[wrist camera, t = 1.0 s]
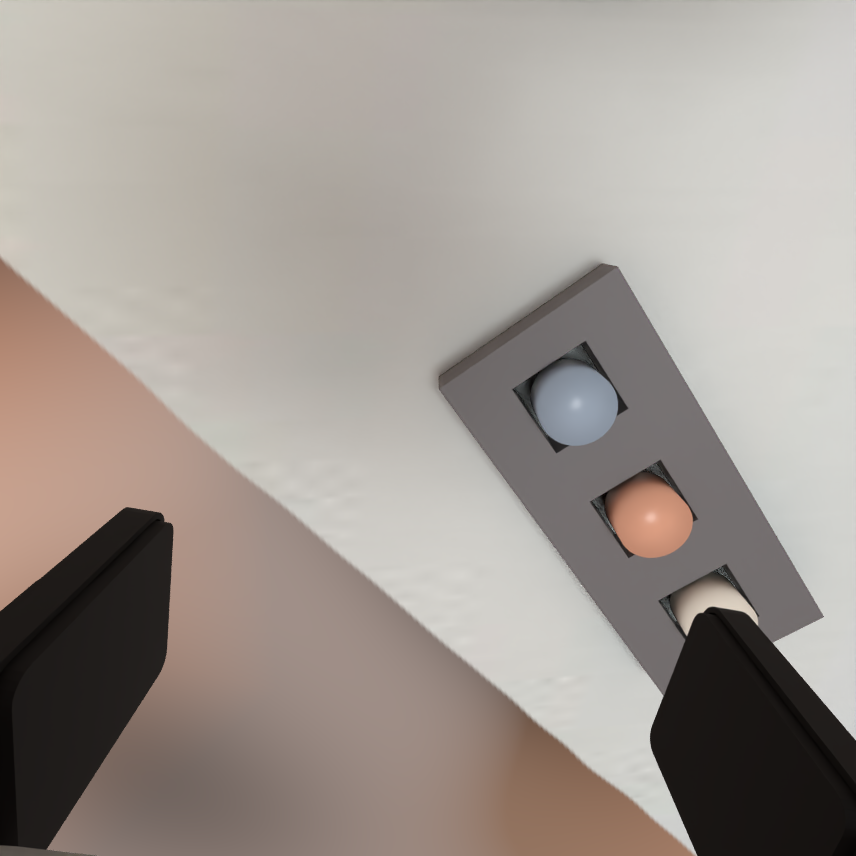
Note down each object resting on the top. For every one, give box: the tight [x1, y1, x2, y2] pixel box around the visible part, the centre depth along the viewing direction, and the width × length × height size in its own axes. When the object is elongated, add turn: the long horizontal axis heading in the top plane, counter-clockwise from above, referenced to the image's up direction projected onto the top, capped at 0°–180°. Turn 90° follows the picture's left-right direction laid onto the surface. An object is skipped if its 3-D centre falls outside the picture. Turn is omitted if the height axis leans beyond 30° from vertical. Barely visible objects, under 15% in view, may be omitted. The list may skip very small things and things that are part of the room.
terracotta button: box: [605, 472, 693, 558], centre depth 36 cm, size 4×4×3 cm
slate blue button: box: [531, 359, 618, 446], centre depth 33 cm, size 4×4×3 cm
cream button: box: [670, 572, 758, 636], centre depth 38 cm, size 4×4×3 cm
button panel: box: [439, 264, 824, 696], centre depth 37 cm, size 12×28×3 cm, turn 36°
